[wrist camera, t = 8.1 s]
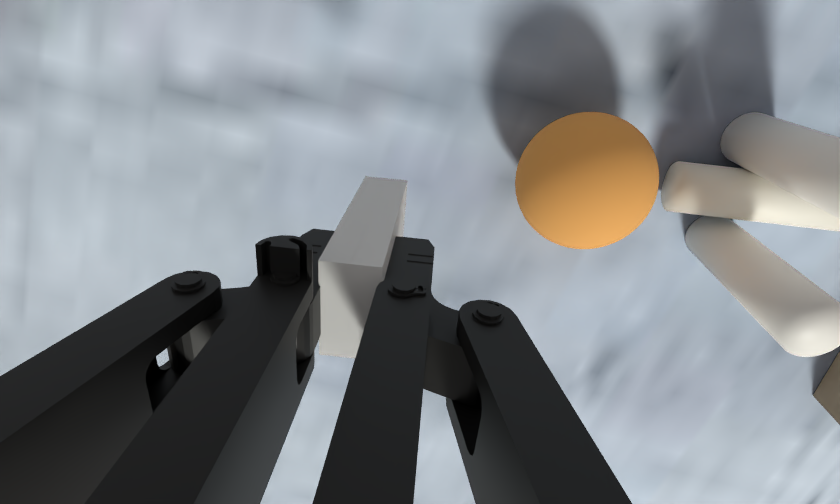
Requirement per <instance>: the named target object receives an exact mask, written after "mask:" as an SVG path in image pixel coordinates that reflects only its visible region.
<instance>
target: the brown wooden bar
mask: <svg viewBox="0 0 840 504" xmlns="http://www.w3.org/2000/svg"><path fill="white" fill-rule="evenodd" d="M813 396H814V397H815V398H816V399H817V401H818V402H819V403H820V404H821V405H822V406H823V407H824V408H825V409H826V410H827V411H828V413H829V414H830V415H831V416H832V417H833V418H834V419H835V420H836V421H837V422H838V423H839V425H840V352H839V353H838V355H837V357H836V358H835V360H834V361H833V363H832V365H831V366H830V368H829V370H828V371H827V373H826V375H825V376H824V378H823V380H822V381H821V383H820V385H819V386H818V388H817V389H816V391H815V393H814V394H813Z"/></svg>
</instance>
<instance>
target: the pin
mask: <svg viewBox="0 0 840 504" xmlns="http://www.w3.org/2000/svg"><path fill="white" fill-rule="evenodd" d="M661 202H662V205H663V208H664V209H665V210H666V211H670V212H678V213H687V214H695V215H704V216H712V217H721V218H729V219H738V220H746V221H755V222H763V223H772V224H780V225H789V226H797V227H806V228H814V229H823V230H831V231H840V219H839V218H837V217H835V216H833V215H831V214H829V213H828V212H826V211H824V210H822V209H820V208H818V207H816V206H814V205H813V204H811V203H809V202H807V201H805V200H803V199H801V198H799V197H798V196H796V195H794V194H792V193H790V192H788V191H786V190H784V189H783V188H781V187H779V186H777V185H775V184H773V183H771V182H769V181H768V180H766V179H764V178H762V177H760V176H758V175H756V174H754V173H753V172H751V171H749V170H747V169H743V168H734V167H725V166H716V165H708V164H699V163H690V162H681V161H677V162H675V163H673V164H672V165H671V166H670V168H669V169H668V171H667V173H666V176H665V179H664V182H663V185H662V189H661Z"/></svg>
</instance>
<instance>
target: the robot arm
mask: <svg viewBox="0 0 840 504" xmlns="http://www.w3.org/2000/svg"><path fill="white" fill-rule="evenodd" d="M406 192H407V181H406V180H396V179H387V178H377V177H367V176H365V178H364V180H363V182H362V184H361V185H360V187H359V189H358V191H357V192H356V194H355V196H354V198H353V200H352V201H351V203H350V205H349V207H348V208H347V210H346V212H345V214H344V216H343V217H342V219H341V221H340V223H339V224H338V226H337V228H336V230H335V231H329V230H320V229H312V230H310V231H308V232H307V233H305V234H303V235H302V236H301V237H296V236H283V235H281V236H274V237H269V238H266V239H263V240H261V241H259V242H258V243H257V244H255V246H256V259H257V272H258V276H257V277H256V278H255V280H254V281H253V282H252V284H251V285H250V286H249V287H242V288H229V289H221V282H220V279H219V278H218V277H217V276H216V275H214V274H212V273H209V272H202V271H185V272H183V273H179V274H175V275H172V276H170V277H168V278H166V279H164V280H162V281H160V282H159V283H157V284H155V285H154V286H152V287H150V288H149V289H147V290H145V291H143V292H142V293H140V294H138V295H137V296H135V297H133V298H132V299H130V300H128V301H127V302H125V303H123V304H122V305H120V306H118V307H116V308H115V309H113V310H111V311H110V312H108V313H106V314H105V315H103V316H101V317H100V318H98V319H96V320H94V321H93V322H91V323H89V324H88V325H86V326H84V327H83V328H81V329H79V330H78V331H76V332H74V333H73V334H71V335H69V336H67V337H66V338H64V339H62V340H61V341H59V342H57V343H56V344H54V345H52V346H51V347H49V348H47V349H46V350H44V351H42V352H40V353H39V354H37V355H35V356H34V357H32V358H30V359H29V360H27V361H25V362H24V363H22V364H20V365H19V366H17V367H15V368H13V369H12V370H10V371H8V372H7V373H5V374H3V375H2V376H0V504H260V502H261V500H262V497H263V495H264V492H265V490H266V487H267V484H268V482H269V479H270V477H271V474H272V472H273V469H274V467H275V464H276V462H277V459H278V457H279V454H280V452H281V449H282V447H283V444H284V442H285V439H286V437H287V434H288V432H289V429H290V427H291V424H292V421H293V419H294V416H295V414H296V411H297V409H298V406H299V404H300V401H301V399H302V396H303V394H304V391H305V389H306V386H307V384H308V381H309V379H310V376H311V374H312V371H313V369H314V349H315V347H316V345H317V342H318V340H319V355H328V356H337V357H346V358H355V361H354V365H353V368H352V371H351V375H350V378H349V382H348V385H347V388H346V392H345V395H344V399H343V402H342V405H341V409H340V412H339V416H338V419H337V422H336V426H335V429H334V433H333V436H332V439H331V443H330V446H329V450H328V453H327V456H326V460H325V463H324V467H323V470H322V473H321V477H320V480H319V484H318V487H317V490H316V494H315V497H314V501H313V504H413V499H414V488H415V476H416V465H417V453H418V441H419V430H420V418H421V407H422V395H423V389H426V390H428V391H431V392H434V393H436V394H439V395H442V396H444V397H446V406H447V409H448V413H449V416H450V419H451V423H452V426H453V429H454V433H455V436H456V439H457V443H458V446H459V449H460V453H461V456H462V459H463V463H464V466H465V469H466V473H467V476H468V479H469V483H470V486H471V489H472V493H473V496H474V499H475V503H476V504H632V503H631V501H630V499H629V498H628V496H627V495H626V493H625V491H624V490H623V488H622V486H621V485H620V483H619V482H618V480H617V478H616V477H615V475H614V473H613V472H612V470H611V469H610V467H609V465H608V464H607V462H606V460H605V459H604V457H603V456H602V454H601V452H600V451H599V449H598V447H597V446H596V444H595V443H594V441H593V439H592V438H591V436H590V434H589V433H588V431H587V430H586V428H585V426H584V425H583V423H582V421H581V420H580V418H579V417H578V415H577V413H576V412H575V410H574V408H573V407H572V405H571V404H570V402H569V400H568V399H567V397H566V395H565V394H564V392H563V391H562V389H561V387H560V386H559V384H558V382H557V381H556V379H555V378H554V376H553V374H552V373H551V371H550V369H549V368H548V366H547V365H546V363H545V361H544V360H543V358H542V356H541V355H540V353H539V352H538V350H537V348H536V347H535V345H534V343H533V342H532V340H531V339H530V337H529V335H528V334H527V332H526V330H525V329H524V327H523V326H522V324H521V322H520V321H519V319H518V317H517V316H516V314H515V313H514V312H513V311H512V310H511V309H509V308H508V307H506V306H504V305H502V304H500V303H497V302H494V301H490V300H475V301H470V302H468V303H466V304H463V305H462V307H461V308H460V310H459V311H457V310H454V309H451V308H448V307H446V306H444V305H442V304H441V303H439V302H438V301H437V300H436V299H435V298H434V297H433V295H432V293H431V283H432V271H433V259H434V247H433V245H432V244H431V243H430V241H429V240H426V239H417V238H407V237H403V231H404V218H405V205H406ZM166 348H167V350H168V355H169V361H168V362H166V363H165V364H164V365H162V366H160V367H159V366H158V365H157V360H156V356H157V355H158V354H159V353H161V352H162V351H163V350H165V349H166Z"/></svg>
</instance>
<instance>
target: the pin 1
mask: <svg viewBox="0 0 840 504" xmlns="http://www.w3.org/2000/svg"><path fill="white" fill-rule="evenodd" d="M720 146H721V151H722V153H723V155H724V156H725V157H726V158H727V159H728V160H730V161H732V162H734V163H736V164H738V165H739V166H741V167H743V168H745V169H747V170H749V171H751V172H753V173H754V174H756V175H758V176H760V177H762V178H764V179H766V180H768V181H769V182H771V183H773V184H775V185H777V186H779V187H781V188H783V189H784V190H786V191H788V192H790V193H792V194H794V195H796V196H798V197H799V198H801V199H803V200H805V201H807V202H809V203H811V204H813V205H814V206H816V207H818V208H820V209H822V210H824V211H826V212H828V213H829V214H831V215H833V216H835V217H837V218H839V219H840V138H839V137H836V136H832V135H829V134H826V133H823V132H820V131H817V130H814V129H810V128H807V127H804V126H801V125H798V124H795V123H791V122H788V121H785V120H782V119H779V118H776V117H772V116H769V115H766V114H763V113H759V112H751V113H746V114H744V115H741V116H739V117H737V118H736V119H734V120H733V121H732V122H731V123H730V124H729V125H728V126H727V127H726V129H725V130H724V132H723V134H722V137H721V142H720Z"/></svg>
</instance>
